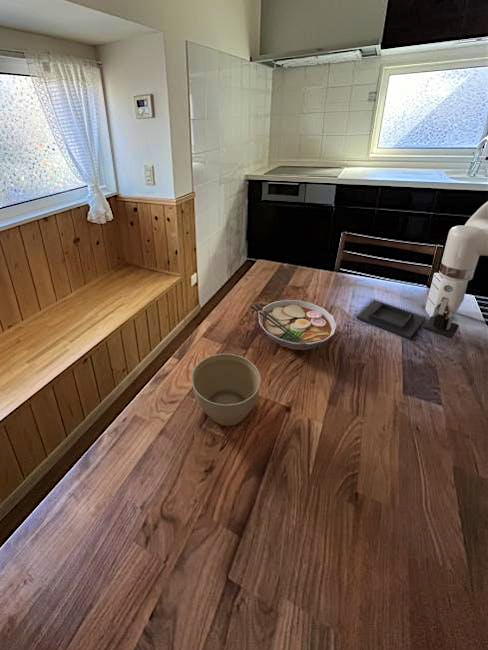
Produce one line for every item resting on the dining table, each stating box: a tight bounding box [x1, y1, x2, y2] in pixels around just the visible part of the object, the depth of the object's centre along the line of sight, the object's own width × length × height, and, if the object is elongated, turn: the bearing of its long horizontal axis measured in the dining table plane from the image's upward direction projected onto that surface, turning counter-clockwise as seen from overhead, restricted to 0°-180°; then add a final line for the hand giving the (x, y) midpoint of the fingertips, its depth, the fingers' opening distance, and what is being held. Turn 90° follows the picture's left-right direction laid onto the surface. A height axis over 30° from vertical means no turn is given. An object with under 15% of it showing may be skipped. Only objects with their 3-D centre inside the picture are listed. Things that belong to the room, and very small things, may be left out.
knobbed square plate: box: [423, 310, 460, 340], centre depth 100 cm, size 7×7×6 cm
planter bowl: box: [190, 353, 262, 427], centre depth 81 cm, size 16×16×11 cm
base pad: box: [356, 299, 426, 341], centre depth 111 cm, size 16×14×2 cm
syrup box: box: [424, 272, 443, 318], centre depth 109 cm, size 6×6×14 cm
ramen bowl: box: [250, 299, 337, 351], centre depth 104 cm, size 25×23×8 cm
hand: (442, 323), depth 100 cm, fingers closed on knobbed square plate, 4 cm apart
